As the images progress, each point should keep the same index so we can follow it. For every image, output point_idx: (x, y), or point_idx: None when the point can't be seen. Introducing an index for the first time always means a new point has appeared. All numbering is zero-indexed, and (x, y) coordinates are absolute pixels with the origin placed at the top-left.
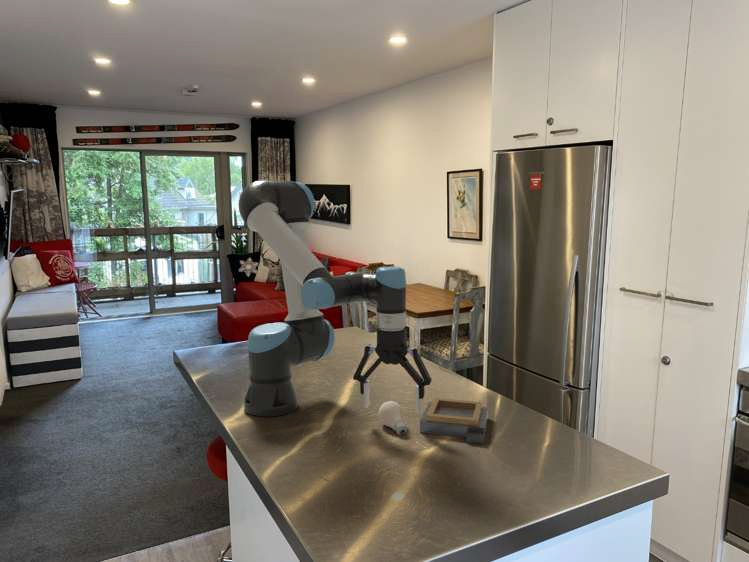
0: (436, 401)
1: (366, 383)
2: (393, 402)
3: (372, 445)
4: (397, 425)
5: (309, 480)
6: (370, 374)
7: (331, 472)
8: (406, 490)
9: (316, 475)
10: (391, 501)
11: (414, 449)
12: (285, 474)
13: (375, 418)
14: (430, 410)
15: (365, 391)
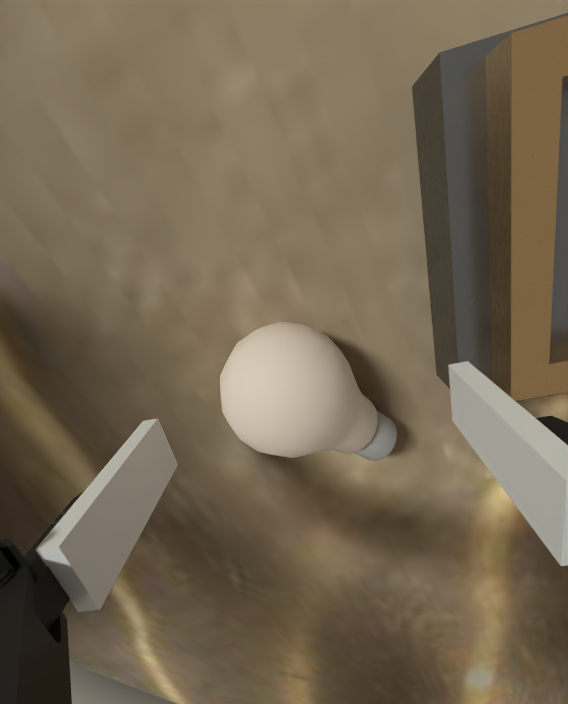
0: (543, 123)
1: (94, 605)
2: (300, 421)
3: (311, 526)
4: (361, 455)
5: (268, 687)
6: (32, 638)
7: (291, 656)
8: (493, 661)
9: (268, 672)
10: (471, 693)
11: (456, 500)
12: (206, 685)
13: (188, 327)
14: (524, 323)
15: (126, 549)
